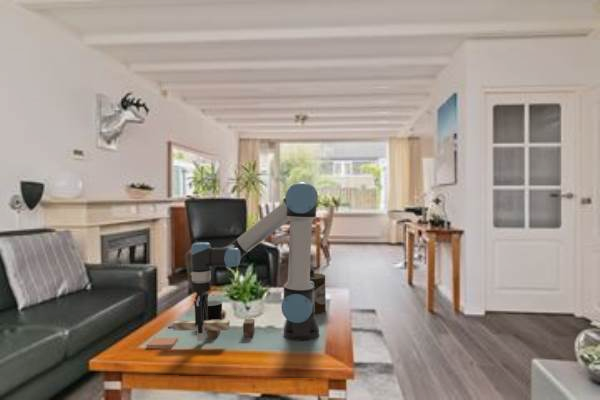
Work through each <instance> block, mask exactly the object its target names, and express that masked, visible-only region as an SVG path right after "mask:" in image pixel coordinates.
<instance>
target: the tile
mask: <svg viewBox="0 0 600 400" xmlns="http://www.w3.org/2000/svg"><path fill="white" fill-rule="evenodd" d="M178 341H179V337H153V338H152V339H151V340H150V341H149V342H148V343H147V344H146V349H147V348H159V349H173V347H175V345H176V344H177V343H178Z"/></svg>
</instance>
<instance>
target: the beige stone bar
mask: <svg viewBox="0 0 600 400" xmlns="http://www.w3.org/2000/svg"><path fill="white" fill-rule="evenodd" d="M203 323H204V330H207V331H208V330H220V331H229V330H230V328H231V325H230V323H231V322H230V320H226V319H225V320H223V319H221V320H208V321H203ZM167 329H168V330H169V329H171V330H172V331H179V332H180V331H197V325H195V320H175V321H174V322H170V323H169V324H168V325H167Z"/></svg>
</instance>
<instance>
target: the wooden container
mask: <svg viewBox="0 0 600 400" xmlns="http://www.w3.org/2000/svg"><path fill="white" fill-rule="evenodd" d="M310 281H313V282H314V287H315V289H314V297H315V316H316V315H321V314H324V313H326V311H327V310H326V308H327V307H326V303H327V301H326V297H327V296H326V275H325V274H323V273H319V272H318V273H316V272H315V269H314V268H312V267H310Z"/></svg>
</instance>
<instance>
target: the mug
mask: <svg viewBox="0 0 600 400" xmlns="http://www.w3.org/2000/svg"><path fill="white" fill-rule="evenodd" d="M222 313H223V302H222V301H221V300H216V299H215V300H208V317H207V318H209V320H211V319H220V320H222Z"/></svg>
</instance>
